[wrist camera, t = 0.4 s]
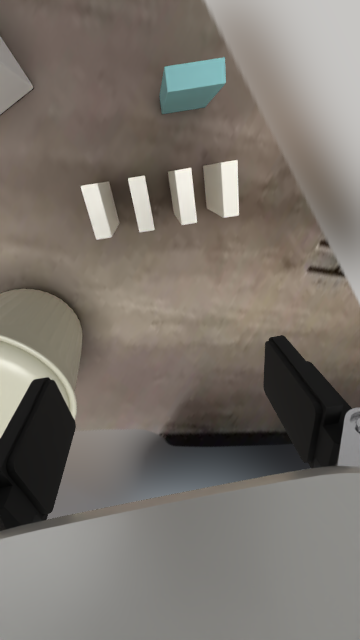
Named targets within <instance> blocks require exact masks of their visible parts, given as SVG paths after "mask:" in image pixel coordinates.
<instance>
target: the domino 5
mask: <svg viewBox="0 0 360 640" xmlns="http://www.w3.org/2000/svg"><path fill="white" fill-rule="evenodd" d="M203 172H204V183H205V195H206V207H207V209H209V210H211V211H212V212H214V213H216V214H218V215H220V216H222V217H223V218H226V217H232V216H238V215H239V199H238V163H237V160H234V161H228V162H222V163H216V164H211V165H205V166H203Z"/></svg>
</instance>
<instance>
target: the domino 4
mask: <svg viewBox="0 0 360 640" xmlns="http://www.w3.org/2000/svg"><path fill="white" fill-rule="evenodd" d="M168 177H169V184H170V191H171V198H172V205H173V211H174V215H175V216H176V218H177V219H178V220H179V222H180V223H181V225H186V224H191V223H197V218H196V209H195V199H194V190H193V180H192V171H191V168H187V169H181V170H175V171H169V172H168Z"/></svg>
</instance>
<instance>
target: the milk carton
mask: <svg viewBox="0 0 360 640" xmlns="http://www.w3.org/2000/svg"><path fill="white" fill-rule="evenodd" d="M32 89H33V86H32V84H31V82H30V81H29V79H28V78H27V76H26V75H25V73H24V72H23V70H22V68H21V67H20V65H19V64H18V62H17V61H16V59H15V58H14V56H13V55H12V53H11V52H10V50H9V49H8V47H7V46H6V44H5V42H4V41H3V39H2V38H1V36H0V114H2V113H3V112H4V111H5V110H7V109H8V108H9V107H10V106H12V105H13V104H14V103H15V102H17V101H18V100H19V99H20V98H22V97H23V96H24V95H25V94H27V93H28V92H29V91H31V90H32Z"/></svg>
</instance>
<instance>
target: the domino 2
mask: <svg viewBox="0 0 360 640" xmlns="http://www.w3.org/2000/svg"><path fill="white" fill-rule="evenodd" d="M128 182H129V186H130V191H131V196H132V200H133V205H134V209H135V214H136V219H137V223H138V228H139V233H140V232H146V231H151V230H155V229H154V223H153V217H152V212H151V206H150V201H149V195H148V190H147V185H146V179H145V176H139V177H133V178H128Z"/></svg>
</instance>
